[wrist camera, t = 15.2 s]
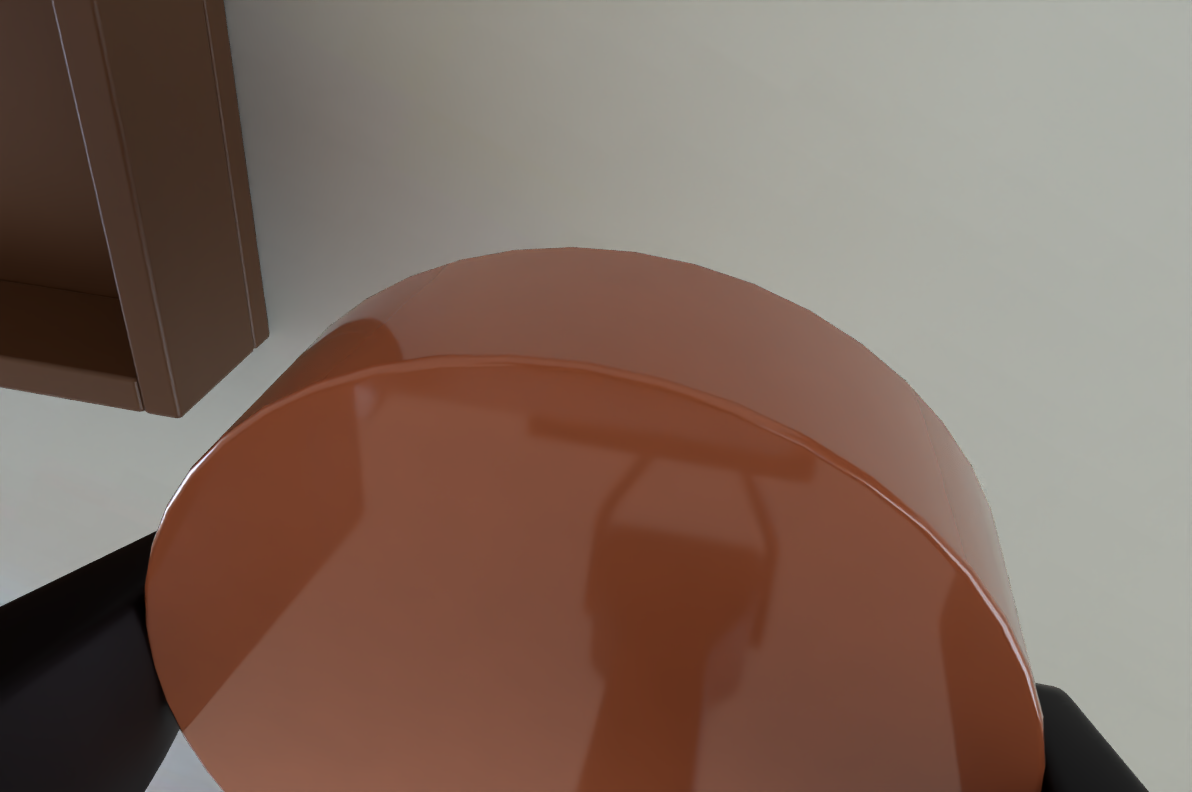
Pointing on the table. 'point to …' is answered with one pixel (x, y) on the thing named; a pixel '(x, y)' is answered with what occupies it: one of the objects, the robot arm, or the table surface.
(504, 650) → the puck terracotta
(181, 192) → the tray
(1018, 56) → the table surface
